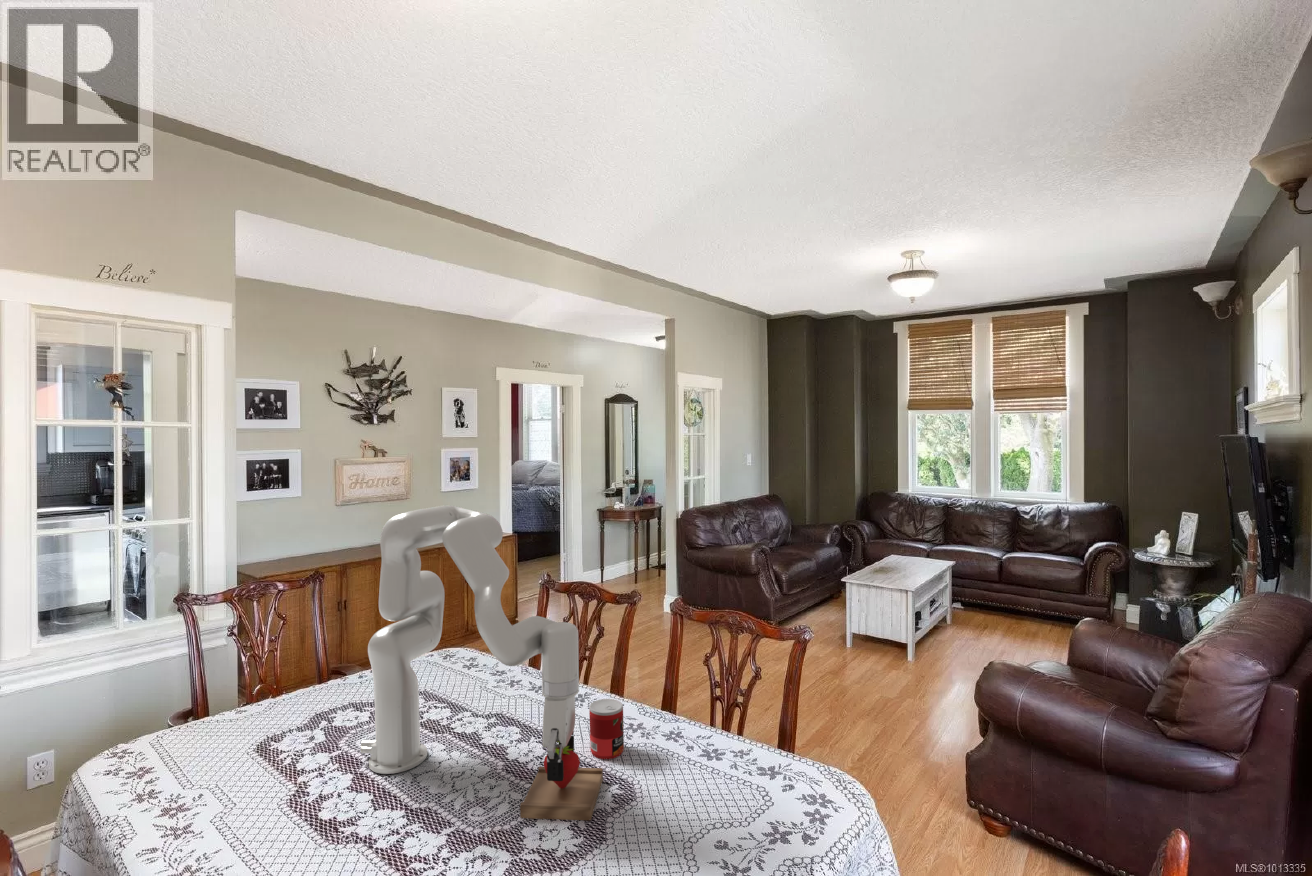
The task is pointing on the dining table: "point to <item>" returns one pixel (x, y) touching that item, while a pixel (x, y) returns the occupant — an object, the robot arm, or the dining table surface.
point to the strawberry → (566, 766)
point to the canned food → (606, 728)
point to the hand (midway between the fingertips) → (561, 766)
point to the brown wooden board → (563, 796)
